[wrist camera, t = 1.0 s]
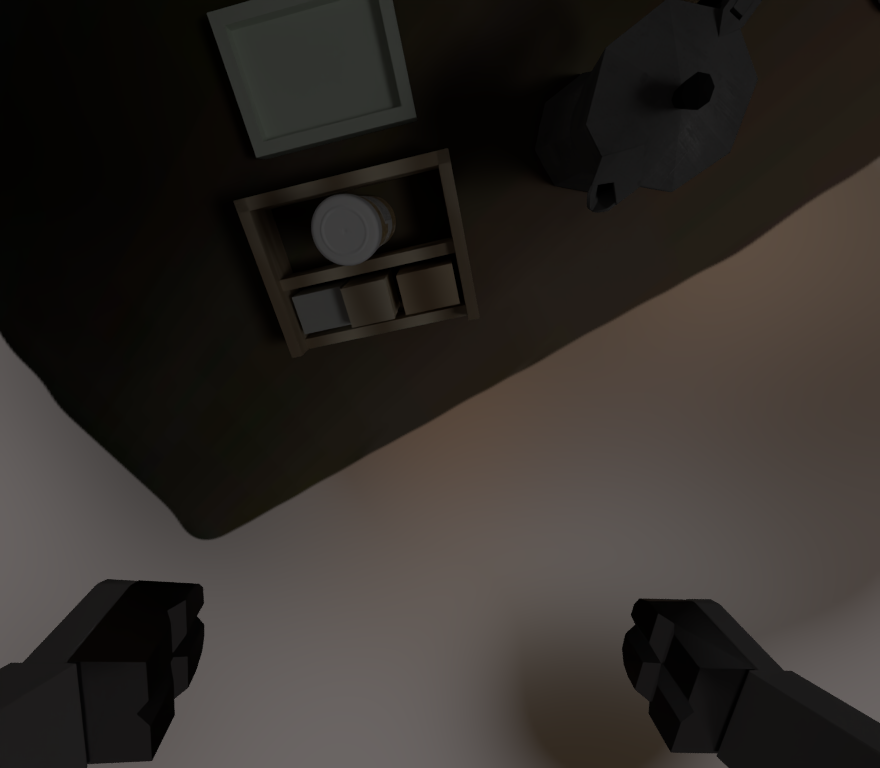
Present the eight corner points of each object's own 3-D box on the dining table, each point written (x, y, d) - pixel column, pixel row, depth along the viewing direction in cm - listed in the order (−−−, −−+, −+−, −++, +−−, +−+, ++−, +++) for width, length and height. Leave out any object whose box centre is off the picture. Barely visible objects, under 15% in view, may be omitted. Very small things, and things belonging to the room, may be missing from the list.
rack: (447, 153, 38) (448, 147, 34) (475, 305, 44) (479, 318, 39) (256, 200, 40) (233, 200, 35) (307, 341, 45) (292, 358, 41)
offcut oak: (450, 255, 42) (451, 263, 37) (457, 292, 43) (459, 303, 39) (400, 267, 42) (396, 275, 38) (409, 302, 44) (406, 315, 39)
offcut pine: (390, 269, 42) (384, 279, 37) (399, 304, 44) (394, 318, 39) (351, 278, 43) (340, 289, 38) (362, 313, 44) (352, 327, 39)
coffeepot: (580, 233, 41) (675, 258, 25) (499, 175, 39) (543, 160, 23) (698, 67, 36) (918, -42, 19) (611, -9, 34) (775, -204, 17)
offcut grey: (348, 279, 43) (339, 286, 39) (358, 313, 44) (351, 324, 41) (304, 288, 43) (291, 297, 40) (315, 322, 45) (304, 334, 41)
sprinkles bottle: (370, 255, 42) (341, 280, 30) (338, 215, 40) (294, 224, 28) (406, 225, 41) (393, 238, 28) (375, 183, 39) (346, 177, 27)
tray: (387, -26, 33) (384, -38, 32) (417, 120, 37) (416, 117, 36) (218, 22, 35) (206, 12, 33) (265, 159, 39) (256, 157, 37)
